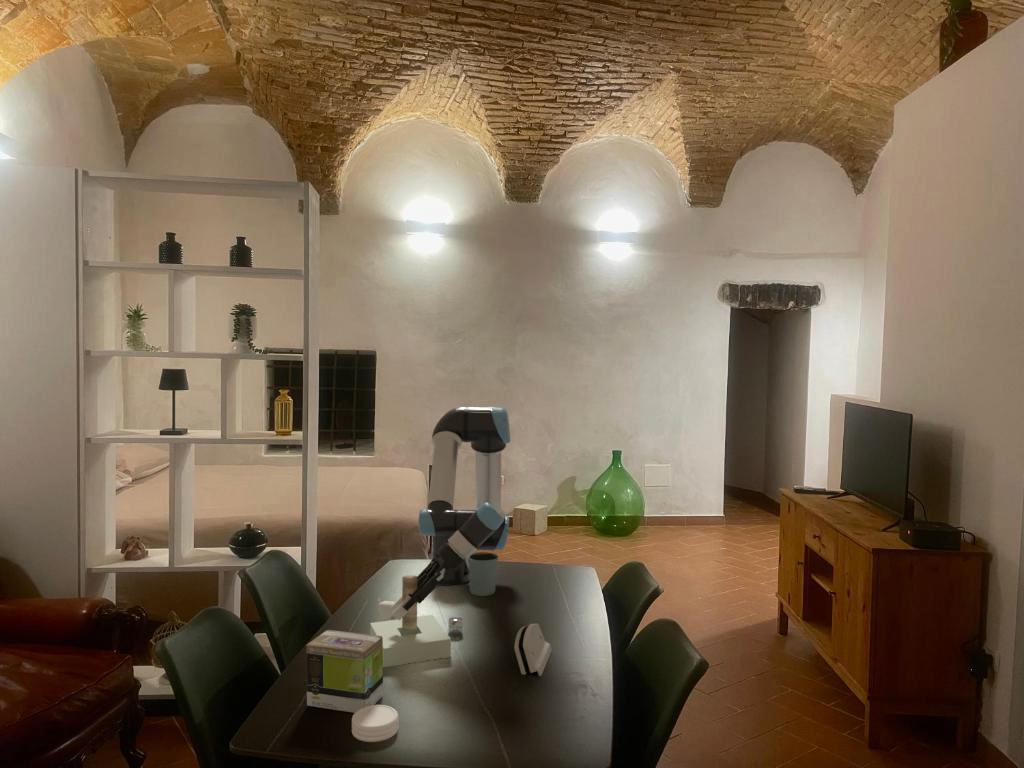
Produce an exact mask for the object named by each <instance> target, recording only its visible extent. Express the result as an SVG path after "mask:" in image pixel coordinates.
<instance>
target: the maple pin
mask: <svg viewBox="0 0 1024 768" xmlns="http://www.w3.org/2000/svg"><path fill="white" fill-rule="evenodd" d="M417 576H418V575H415V574H406V575H403V576H402V578H401V579H402V581H401V585H402V589H401V590H402V591H401V593H402V595H401V596H402V602H403V601H404V600H405V599H406V598H407V597H408V596H409V593H410V594H411V595H412V594H413V593H414V592H415V590H416V589H417ZM417 617H418V603H416V604H415V605H414V606H413V607H412V608H411V609H410V610H409V611H408V612H407V613H406V614H405V615H404V616H403V617H402V618H401V619H402V629H403V630H406V631H412V630H415V629H417Z"/></svg>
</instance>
